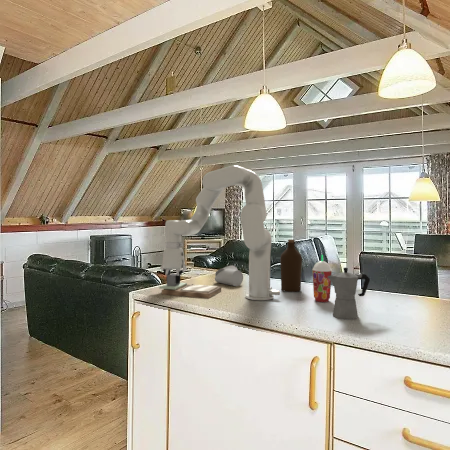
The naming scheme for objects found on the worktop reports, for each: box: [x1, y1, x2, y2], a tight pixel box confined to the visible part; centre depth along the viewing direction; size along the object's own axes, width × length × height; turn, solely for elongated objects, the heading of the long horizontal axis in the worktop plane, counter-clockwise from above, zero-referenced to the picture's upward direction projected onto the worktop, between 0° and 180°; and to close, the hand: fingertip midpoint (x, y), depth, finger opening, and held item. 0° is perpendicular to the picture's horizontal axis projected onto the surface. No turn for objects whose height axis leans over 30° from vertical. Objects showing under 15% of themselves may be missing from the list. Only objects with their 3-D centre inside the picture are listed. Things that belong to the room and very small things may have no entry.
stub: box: [158, 273, 188, 290], centre depth 181 cm, size 8×13×6 cm, turn 161°
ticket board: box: [161, 283, 222, 299], centre depth 178 cm, size 24×16×3 cm, turn 71°
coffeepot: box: [327, 267, 371, 320], centre depth 137 cm, size 15×9×18 cm, turn 90°
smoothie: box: [311, 254, 333, 303], centre depth 162 cm, size 8×8×20 cm
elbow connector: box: [214, 265, 244, 287], centre depth 205 cm, size 18×11×20 cm
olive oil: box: [279, 239, 303, 293], centre depth 184 cm, size 11×11×25 cm
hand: (173, 282), depth 181 cm, fingers closed on stub, 4 cm apart
